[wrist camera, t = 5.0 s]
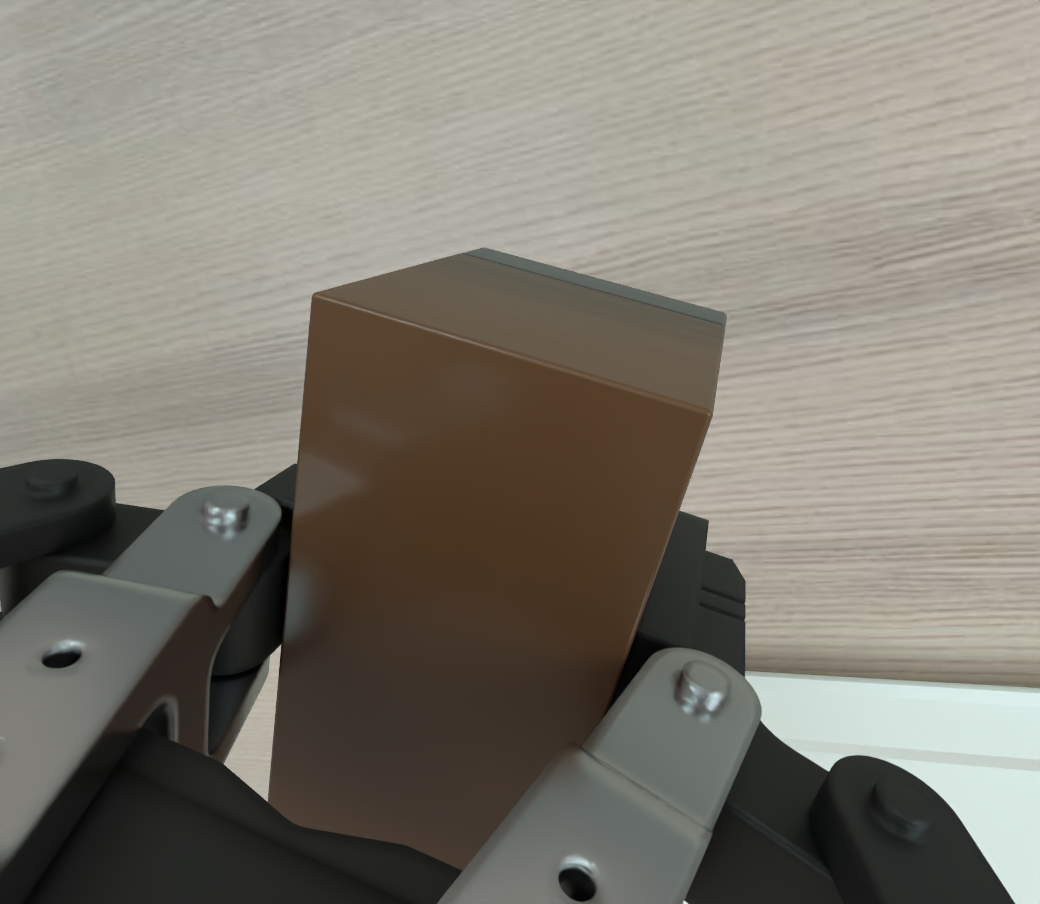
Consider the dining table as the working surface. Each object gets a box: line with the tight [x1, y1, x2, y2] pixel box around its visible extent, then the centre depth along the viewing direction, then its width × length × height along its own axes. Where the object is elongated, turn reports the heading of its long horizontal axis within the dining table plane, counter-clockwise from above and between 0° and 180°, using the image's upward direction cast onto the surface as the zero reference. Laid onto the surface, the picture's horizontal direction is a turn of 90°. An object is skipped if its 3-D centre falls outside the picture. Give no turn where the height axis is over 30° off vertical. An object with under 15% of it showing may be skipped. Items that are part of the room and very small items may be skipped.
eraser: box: [268, 248, 726, 870], centre depth 10 cm, size 8×4×5 cm, turn 167°
